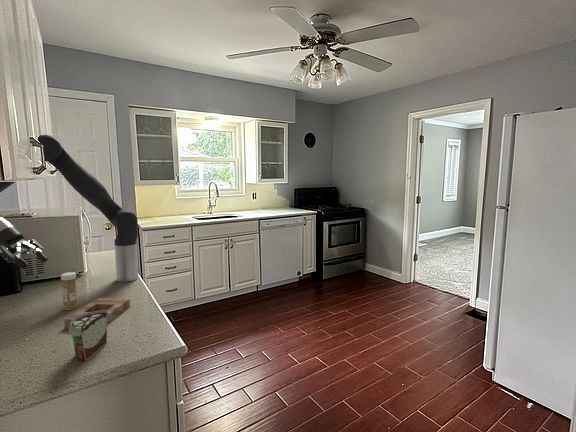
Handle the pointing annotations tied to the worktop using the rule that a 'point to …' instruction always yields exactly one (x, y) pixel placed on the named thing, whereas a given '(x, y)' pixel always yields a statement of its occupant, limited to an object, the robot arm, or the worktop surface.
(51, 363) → the worktop surface
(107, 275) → the worktop surface
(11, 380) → the worktop surface
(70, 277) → the sprinkles bottle
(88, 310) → the walnut caddy
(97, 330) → the food container
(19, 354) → the worktop surface
